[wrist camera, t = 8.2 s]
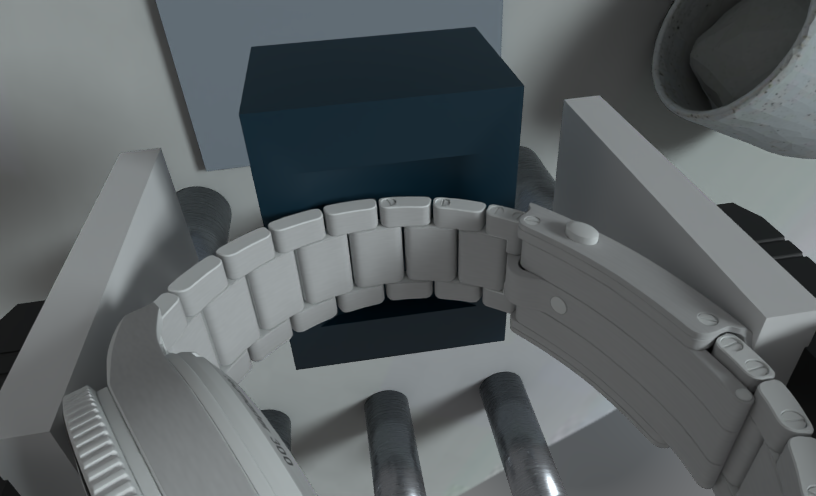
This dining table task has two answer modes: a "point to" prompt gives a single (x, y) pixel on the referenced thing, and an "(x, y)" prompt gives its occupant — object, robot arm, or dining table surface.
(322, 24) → the mat
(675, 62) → the ceramic mug
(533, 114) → the dining table surface
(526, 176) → the post field
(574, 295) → the watch
